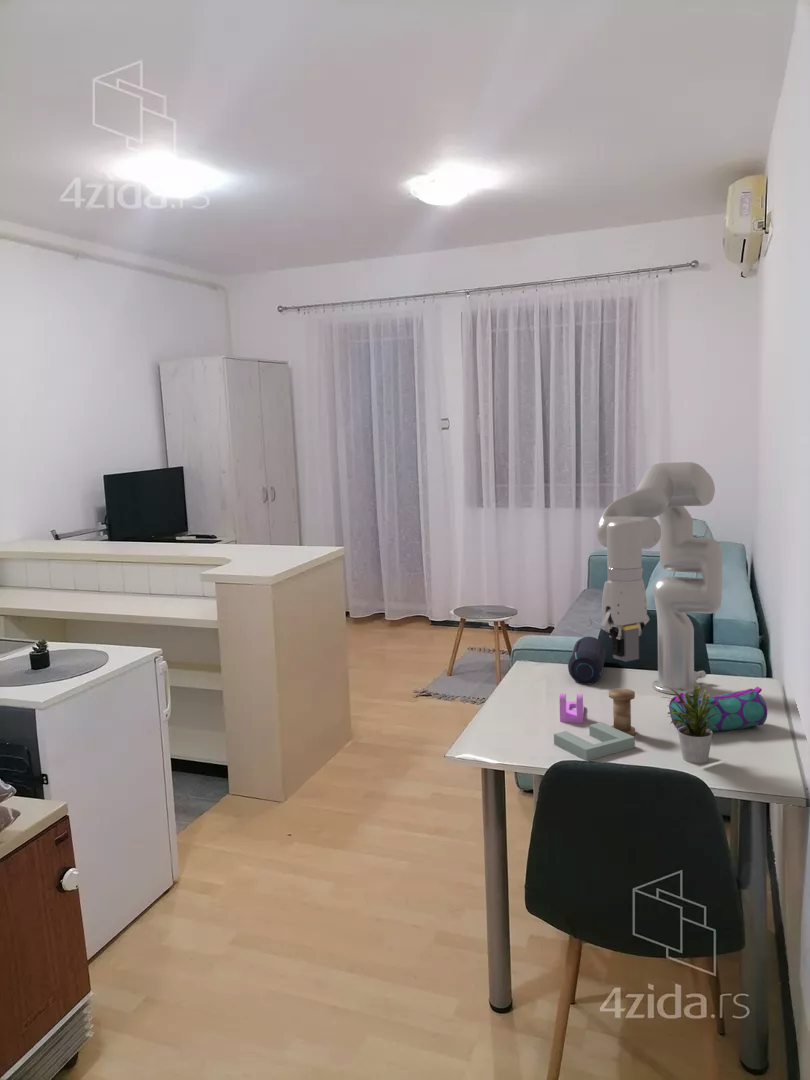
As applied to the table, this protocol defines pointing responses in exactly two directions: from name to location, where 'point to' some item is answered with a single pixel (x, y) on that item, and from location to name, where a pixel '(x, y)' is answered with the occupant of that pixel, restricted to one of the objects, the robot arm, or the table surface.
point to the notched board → (587, 751)
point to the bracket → (568, 714)
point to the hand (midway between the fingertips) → (625, 652)
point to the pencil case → (728, 710)
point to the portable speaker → (587, 660)
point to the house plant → (694, 727)
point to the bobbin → (622, 710)
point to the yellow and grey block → (630, 643)
